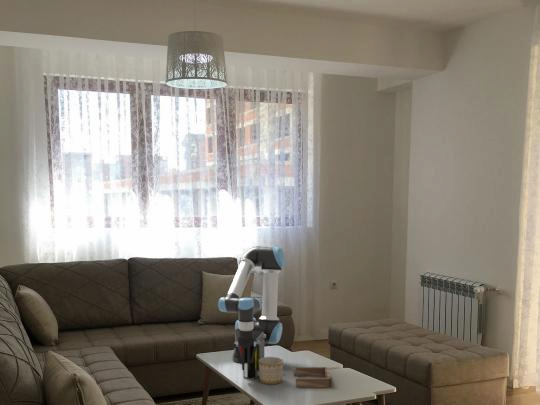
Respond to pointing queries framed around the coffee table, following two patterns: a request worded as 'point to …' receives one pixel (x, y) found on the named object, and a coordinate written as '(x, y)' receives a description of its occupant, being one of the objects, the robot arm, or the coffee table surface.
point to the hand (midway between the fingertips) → (245, 376)
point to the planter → (271, 370)
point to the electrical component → (258, 355)
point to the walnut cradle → (312, 381)
